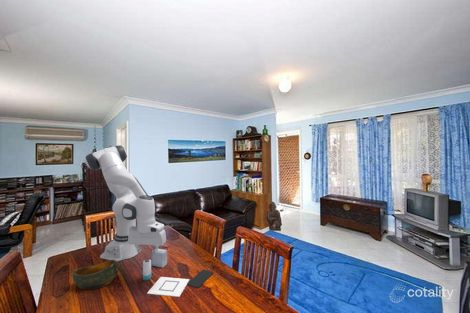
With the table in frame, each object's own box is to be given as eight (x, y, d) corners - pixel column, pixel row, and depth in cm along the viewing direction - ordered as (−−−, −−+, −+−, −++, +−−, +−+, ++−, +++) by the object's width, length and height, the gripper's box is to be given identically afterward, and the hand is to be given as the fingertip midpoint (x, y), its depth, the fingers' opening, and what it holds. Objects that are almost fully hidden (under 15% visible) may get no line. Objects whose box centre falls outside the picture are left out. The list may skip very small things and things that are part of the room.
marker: (141, 279, 105) (141, 261, 105) (145, 275, 109) (145, 257, 109) (148, 280, 105) (148, 262, 105) (152, 275, 109) (152, 258, 109)
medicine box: (167, 264, 121) (167, 249, 121) (162, 268, 116) (162, 253, 116) (156, 261, 123) (156, 247, 123) (151, 265, 119) (151, 251, 119)
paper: (147, 293, 95) (147, 292, 95) (160, 277, 108) (160, 276, 108) (179, 296, 92) (179, 296, 92) (189, 279, 105) (189, 279, 105)
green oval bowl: (104, 294, 94) (104, 273, 94) (68, 290, 97) (68, 269, 97) (124, 278, 106) (124, 259, 107) (92, 274, 110) (92, 256, 110)
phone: (214, 272, 112) (198, 287, 98) (214, 273, 112) (198, 289, 98) (203, 269, 115) (186, 283, 101) (203, 270, 115) (186, 285, 101)
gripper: (124, 228, 105) (125, 254, 105) (161, 229, 102) (161, 256, 102) (132, 223, 111) (133, 248, 111) (167, 224, 108) (167, 250, 108)
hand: (147, 252), depth 107 cm, fingers open, 8 cm apart
